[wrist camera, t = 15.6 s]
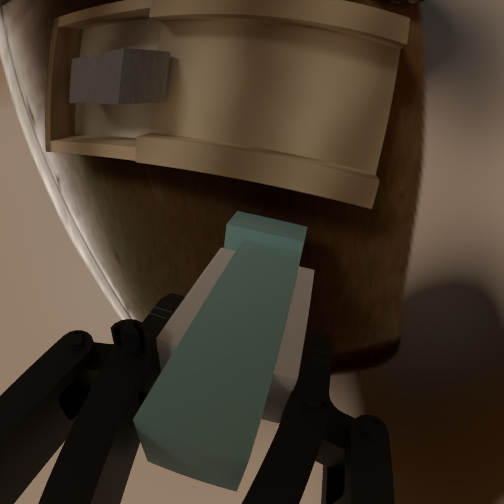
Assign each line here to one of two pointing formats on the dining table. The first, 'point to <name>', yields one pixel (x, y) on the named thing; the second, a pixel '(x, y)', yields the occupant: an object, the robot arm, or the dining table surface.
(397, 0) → the bread roll
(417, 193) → the dining table surface
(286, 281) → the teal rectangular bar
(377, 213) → the dining table surface
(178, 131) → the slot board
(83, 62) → the chip
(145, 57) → the chip
